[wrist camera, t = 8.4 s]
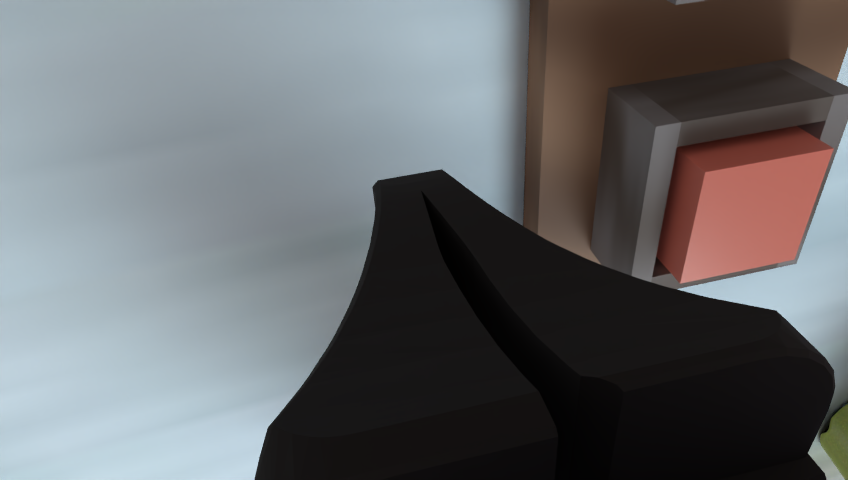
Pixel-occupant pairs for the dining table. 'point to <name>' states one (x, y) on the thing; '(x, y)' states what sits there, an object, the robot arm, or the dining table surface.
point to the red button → (740, 202)
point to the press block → (663, 108)
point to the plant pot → (837, 441)
